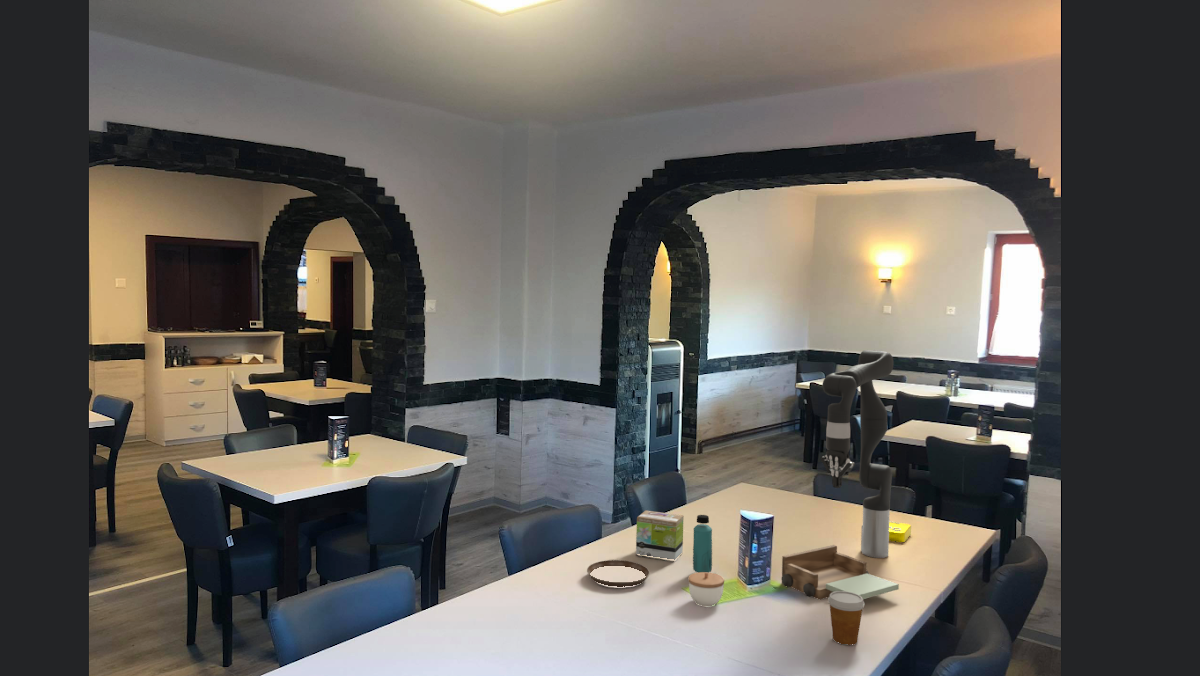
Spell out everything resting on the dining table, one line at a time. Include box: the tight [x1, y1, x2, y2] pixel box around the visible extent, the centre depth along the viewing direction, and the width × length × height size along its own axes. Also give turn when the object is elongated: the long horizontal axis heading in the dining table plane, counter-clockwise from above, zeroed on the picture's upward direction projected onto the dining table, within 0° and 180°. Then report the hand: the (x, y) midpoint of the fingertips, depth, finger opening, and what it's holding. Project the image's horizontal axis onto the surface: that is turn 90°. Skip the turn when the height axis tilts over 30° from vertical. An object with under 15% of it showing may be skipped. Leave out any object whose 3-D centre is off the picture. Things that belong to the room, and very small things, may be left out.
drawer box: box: [781, 544, 870, 600], centre depth 248 cm, size 16×26×9 cm, turn 121°
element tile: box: [889, 520, 912, 543], centre depth 303 cm, size 15×15×5 cm
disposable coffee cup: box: [827, 591, 865, 646], centre depth 207 cm, size 10×10×12 cm
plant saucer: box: [586, 559, 650, 587], centre depth 251 cm, size 21×21×3 cm
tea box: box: [635, 509, 684, 560], centre depth 275 cm, size 15×10×15 cm, turn 68°
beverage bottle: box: [692, 514, 713, 573], centre depth 256 cm, size 6×7×20 cm
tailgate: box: [826, 573, 900, 600], centre depth 236 cm, size 2×19×12 cm
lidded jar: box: [688, 572, 725, 607], centre depth 231 cm, size 11×11×9 cm
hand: (836, 487), depth 251 cm, fingers closed
